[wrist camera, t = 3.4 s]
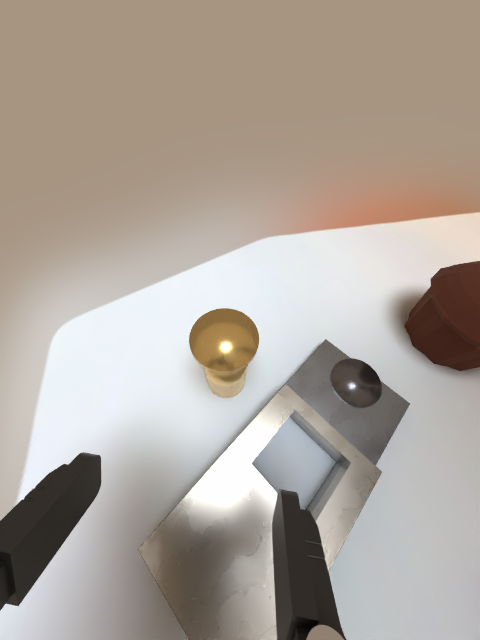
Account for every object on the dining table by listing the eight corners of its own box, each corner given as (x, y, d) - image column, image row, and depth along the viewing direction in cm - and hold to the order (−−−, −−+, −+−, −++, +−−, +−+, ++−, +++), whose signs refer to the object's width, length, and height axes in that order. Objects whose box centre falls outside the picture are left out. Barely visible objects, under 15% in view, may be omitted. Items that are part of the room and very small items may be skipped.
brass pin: (227, 349, 27) (225, 297, 18) (258, 379, 25) (273, 337, 17) (194, 378, 25) (174, 336, 16) (225, 413, 23) (222, 386, 15)
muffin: (498, 330, 29) (607, 277, 21) (488, 402, 25) (625, 371, 16) (405, 286, 33) (466, 226, 24) (380, 342, 28) (446, 290, 19)
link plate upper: (279, 391, 24) (285, 383, 22) (363, 470, 21) (381, 471, 18) (145, 542, 18) (131, 556, 15) (234, 693, 14) (235, 743, 12)
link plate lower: (323, 342, 28) (329, 335, 26) (402, 403, 24) (414, 399, 23) (223, 454, 21) (223, 454, 20) (311, 560, 18) (319, 569, 16)
